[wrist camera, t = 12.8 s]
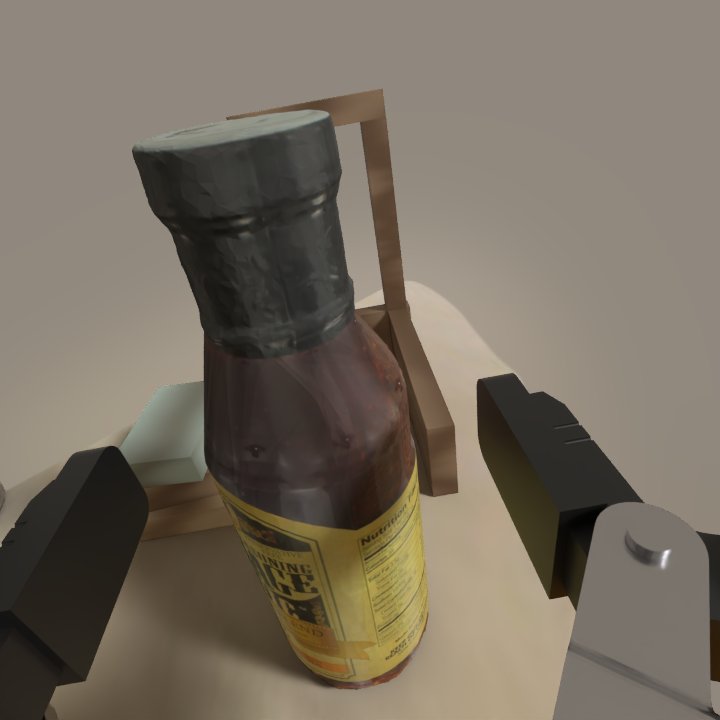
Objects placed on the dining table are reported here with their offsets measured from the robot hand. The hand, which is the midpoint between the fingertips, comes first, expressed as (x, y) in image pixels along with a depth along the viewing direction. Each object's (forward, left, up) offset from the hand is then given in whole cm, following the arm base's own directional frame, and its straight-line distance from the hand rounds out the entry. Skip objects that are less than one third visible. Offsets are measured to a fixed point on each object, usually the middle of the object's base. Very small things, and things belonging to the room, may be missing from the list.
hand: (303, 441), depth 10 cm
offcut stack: (-10, +14, -14) cm, 22 cm away
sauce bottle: (0, +3, -14) cm, 14 cm away
